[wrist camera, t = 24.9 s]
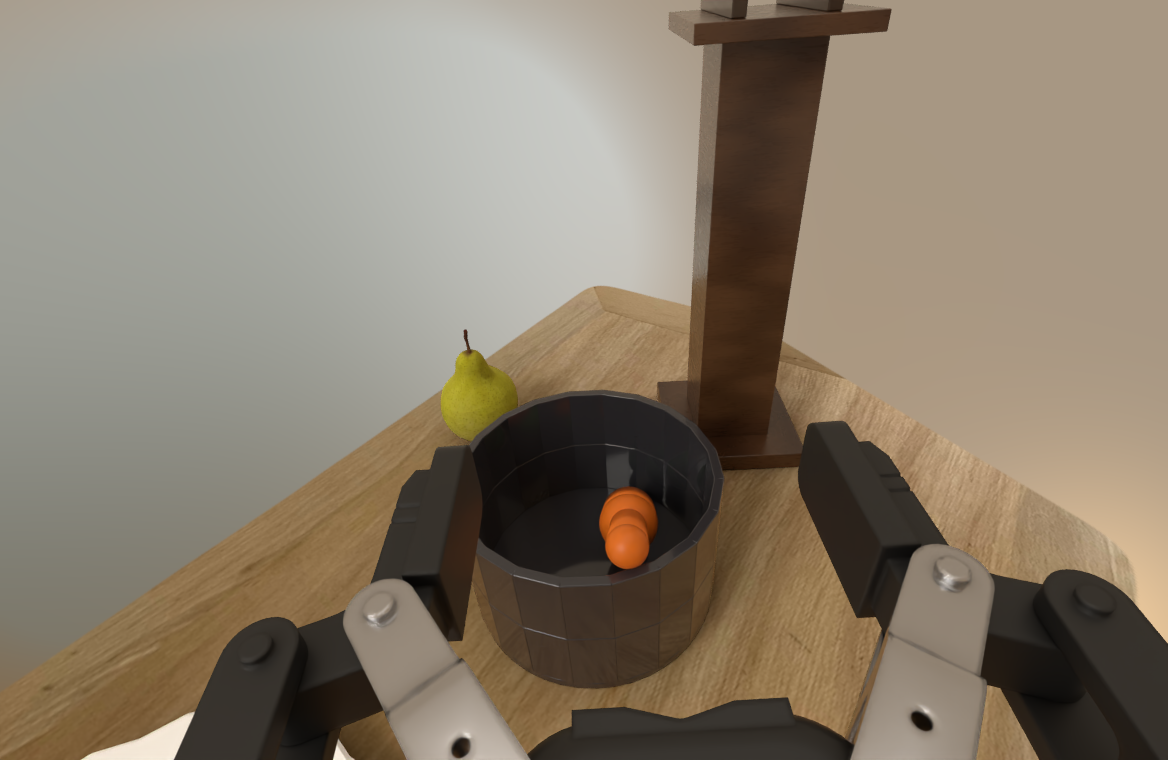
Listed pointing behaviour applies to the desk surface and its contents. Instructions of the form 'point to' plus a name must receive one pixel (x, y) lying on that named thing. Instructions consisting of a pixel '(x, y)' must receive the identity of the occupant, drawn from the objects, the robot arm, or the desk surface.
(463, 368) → the fruit
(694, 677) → the desk surface
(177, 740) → the plate
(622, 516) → the carrot
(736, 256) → the stand
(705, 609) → the pot
